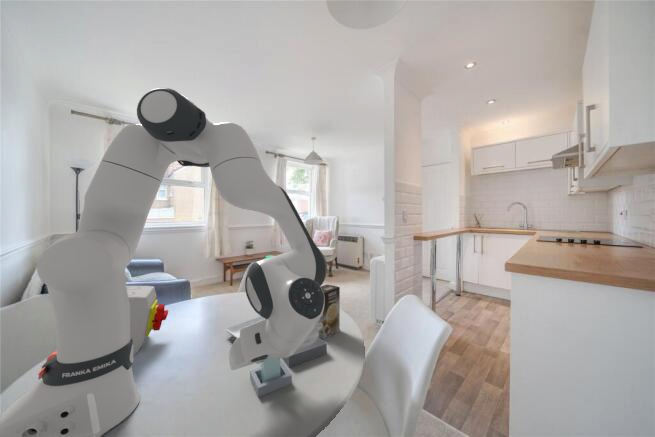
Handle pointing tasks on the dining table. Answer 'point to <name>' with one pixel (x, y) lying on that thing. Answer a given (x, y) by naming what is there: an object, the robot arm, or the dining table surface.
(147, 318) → the electrical switch box
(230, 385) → the dining table surface
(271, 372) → the plug
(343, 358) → the dining table surface
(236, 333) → the salad plate
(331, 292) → the coffee box
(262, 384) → the grey storage bin
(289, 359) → the block
